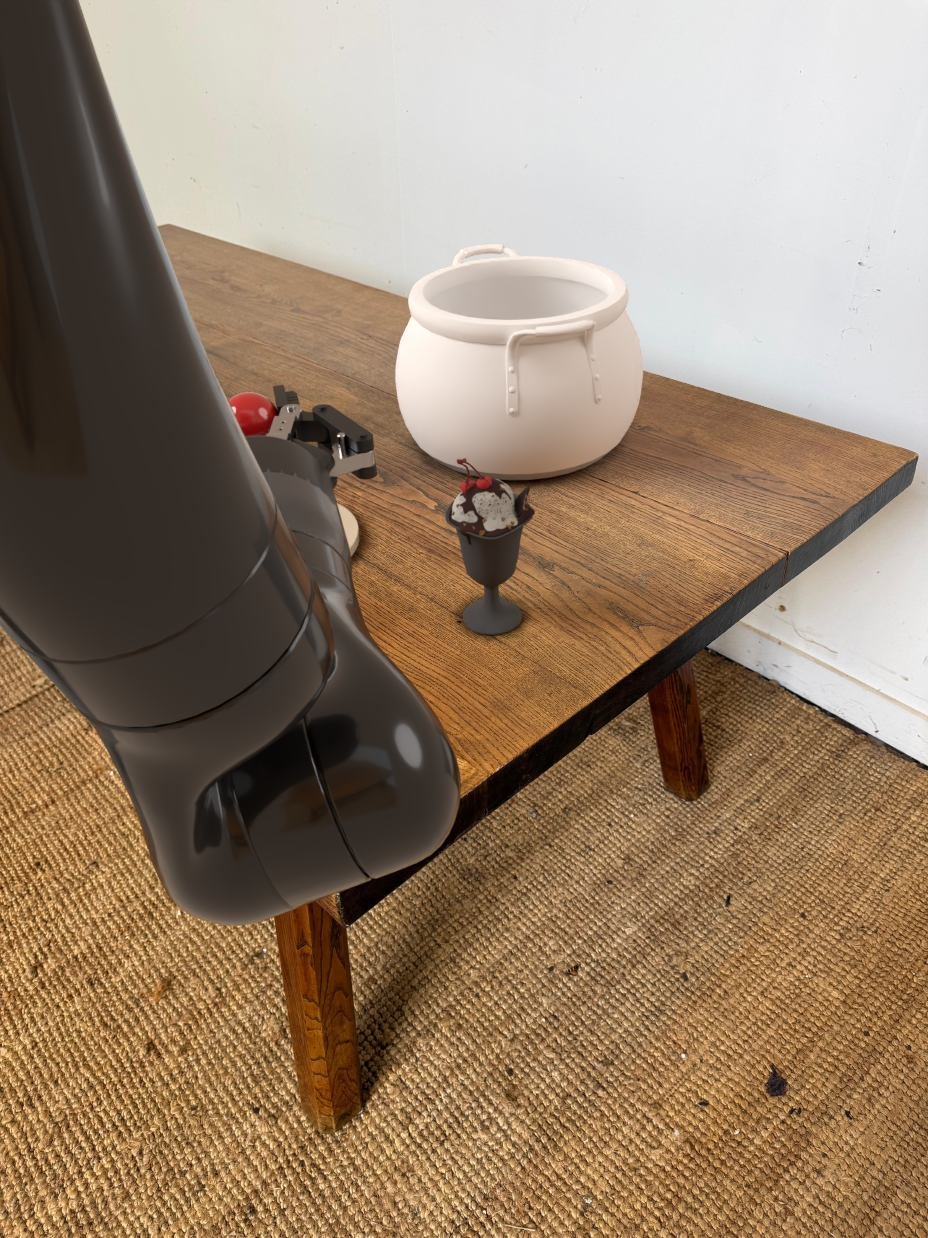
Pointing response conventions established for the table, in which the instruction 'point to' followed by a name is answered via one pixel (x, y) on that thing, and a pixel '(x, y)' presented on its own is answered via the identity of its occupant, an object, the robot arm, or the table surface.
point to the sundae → (489, 546)
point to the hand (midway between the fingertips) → (247, 404)
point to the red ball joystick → (253, 413)
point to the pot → (518, 364)
